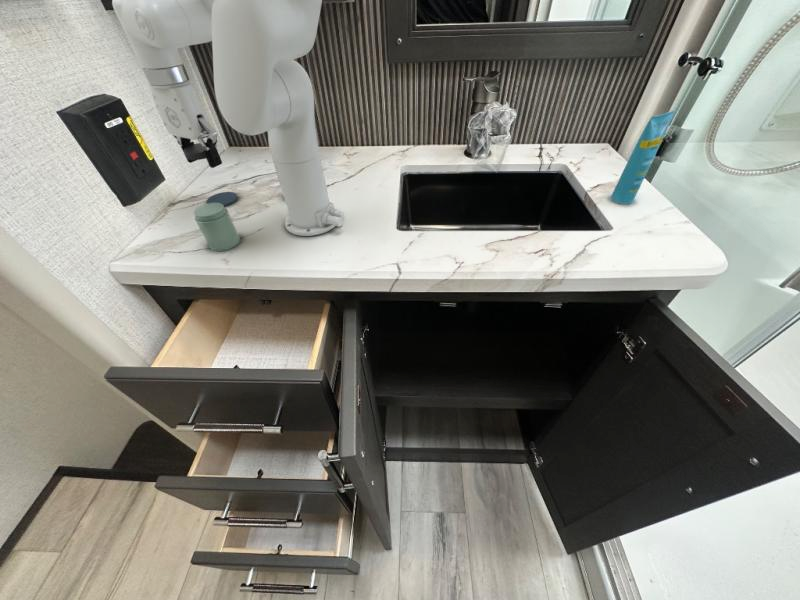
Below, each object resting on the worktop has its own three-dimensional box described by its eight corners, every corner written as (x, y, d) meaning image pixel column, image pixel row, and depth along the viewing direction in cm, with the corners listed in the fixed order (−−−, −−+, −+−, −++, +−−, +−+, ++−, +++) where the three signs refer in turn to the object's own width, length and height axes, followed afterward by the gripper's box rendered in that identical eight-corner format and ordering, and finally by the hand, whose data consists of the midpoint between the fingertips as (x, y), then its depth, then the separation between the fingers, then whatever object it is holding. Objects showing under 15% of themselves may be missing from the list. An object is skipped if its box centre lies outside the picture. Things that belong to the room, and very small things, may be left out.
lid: (216, 146, 82) (213, 140, 81) (218, 156, 78) (215, 149, 77) (185, 152, 80) (182, 145, 79) (186, 162, 76) (183, 155, 75)
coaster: (244, 197, 88) (243, 194, 88) (221, 210, 83) (220, 208, 83) (223, 191, 91) (223, 189, 90) (201, 204, 86) (200, 202, 86)
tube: (622, 208, 78) (665, 119, 64) (603, 200, 81) (641, 113, 67) (639, 199, 80) (685, 111, 67) (620, 191, 83) (660, 106, 70)
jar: (246, 237, 74) (232, 203, 68) (226, 253, 70) (209, 219, 64) (223, 232, 76) (208, 199, 70) (203, 248, 72) (184, 214, 66)
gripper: (124, 77, 68) (168, 163, 81) (179, 84, 63) (218, 175, 75) (157, 70, 73) (194, 152, 86) (211, 75, 67) (243, 163, 80)
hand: (205, 162), depth 80 cm, fingers closed on lid, 6 cm apart
